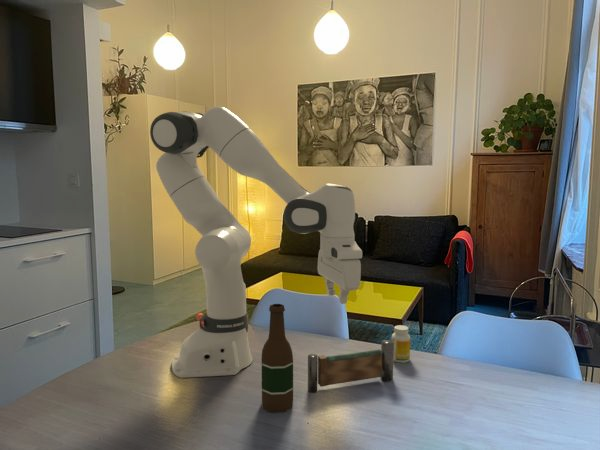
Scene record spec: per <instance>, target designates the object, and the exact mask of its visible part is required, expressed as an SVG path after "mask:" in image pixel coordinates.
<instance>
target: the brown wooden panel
mask: <svg viewBox="0 0 600 450" xmlns="http://www.w3.org/2000/svg"><path fill="white" fill-rule="evenodd" d="M381 354H382V352H381V348H380V349H372V350H365V351H358V352H352V353H351V352H350V353H343V354H336V355H329V356H326V355H324V354H321V355H317V356H318V364H317V385H319V387H327V386H331V385H332V386H333V385H339V384H344V383H351V382H357V381H364V380H369V379H376V378H381V364H382V355H381Z"/></svg>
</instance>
